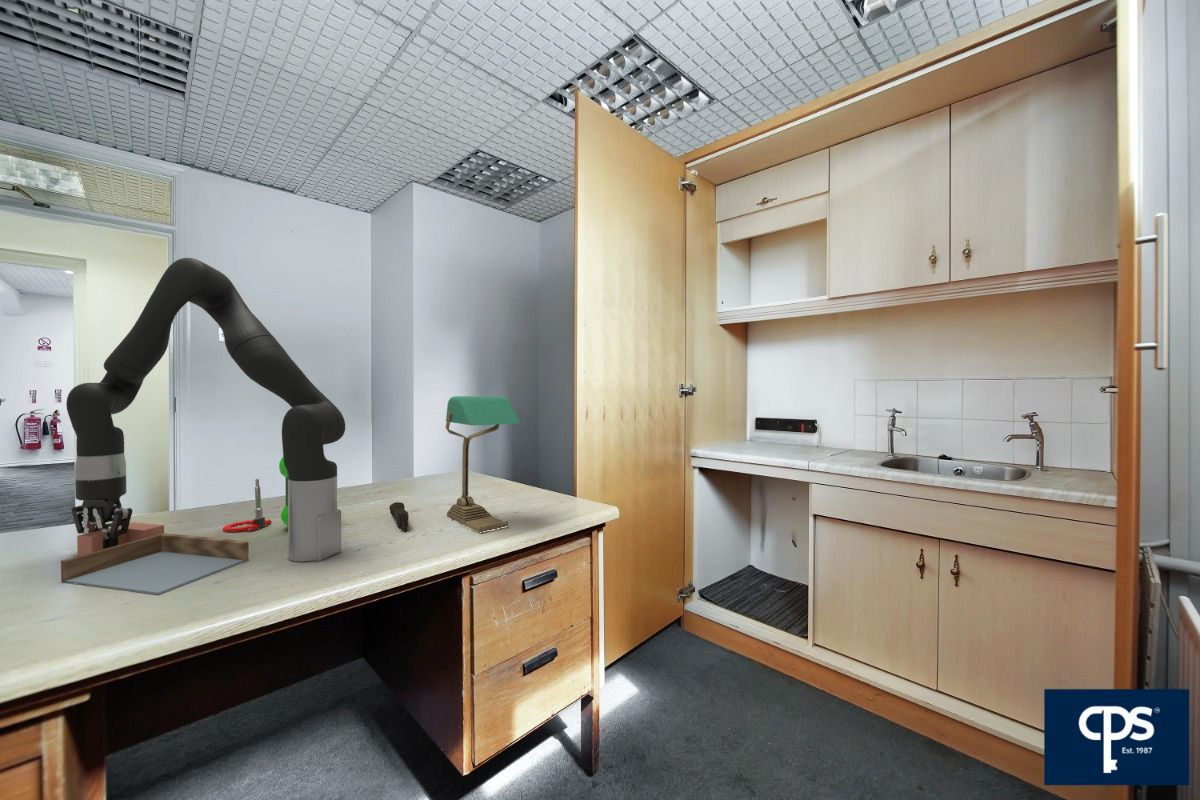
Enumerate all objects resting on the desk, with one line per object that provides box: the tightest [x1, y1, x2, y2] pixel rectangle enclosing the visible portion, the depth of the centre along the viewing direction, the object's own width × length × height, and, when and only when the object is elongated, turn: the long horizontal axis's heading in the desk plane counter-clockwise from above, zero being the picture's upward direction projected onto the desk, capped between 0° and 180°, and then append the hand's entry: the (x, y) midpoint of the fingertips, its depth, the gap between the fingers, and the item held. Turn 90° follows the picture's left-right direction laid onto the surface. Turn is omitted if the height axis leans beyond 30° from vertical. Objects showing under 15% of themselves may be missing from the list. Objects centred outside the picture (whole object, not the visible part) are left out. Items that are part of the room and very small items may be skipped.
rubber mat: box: [60, 551, 247, 596], centre depth 93 cm, size 23×17×1 cm
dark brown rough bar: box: [388, 501, 409, 532], centre depth 127 cm, size 19×4×5 cm, turn 27°
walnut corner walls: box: [60, 532, 250, 583], centre depth 93 cm, size 23×17×4 cm
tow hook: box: [222, 478, 272, 533], centre depth 121 cm, size 8×13×9 cm
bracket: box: [76, 521, 165, 556], centre depth 102 cm, size 9×10×5 cm
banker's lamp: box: [445, 395, 522, 534], centre depth 128 cm, size 16×21×35 cm
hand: (102, 553), depth 100 cm, fingers closed on bracket, 4 cm apart
